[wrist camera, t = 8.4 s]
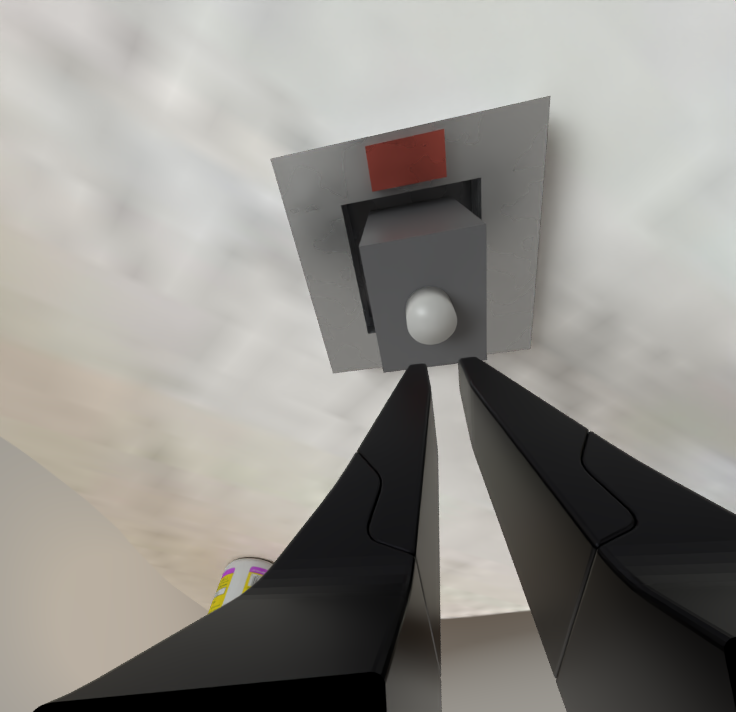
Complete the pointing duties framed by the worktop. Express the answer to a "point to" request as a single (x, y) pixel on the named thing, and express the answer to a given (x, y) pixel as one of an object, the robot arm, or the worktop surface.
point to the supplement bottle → (238, 579)
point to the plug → (426, 282)
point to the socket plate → (410, 185)
